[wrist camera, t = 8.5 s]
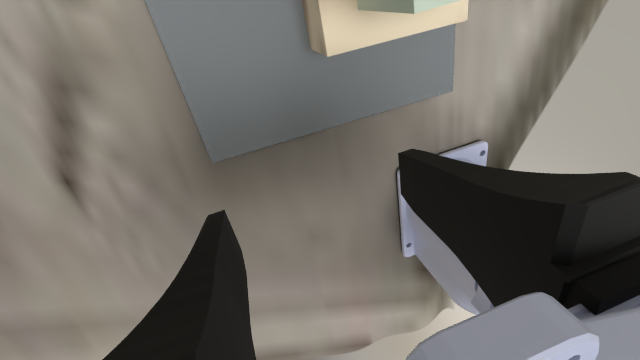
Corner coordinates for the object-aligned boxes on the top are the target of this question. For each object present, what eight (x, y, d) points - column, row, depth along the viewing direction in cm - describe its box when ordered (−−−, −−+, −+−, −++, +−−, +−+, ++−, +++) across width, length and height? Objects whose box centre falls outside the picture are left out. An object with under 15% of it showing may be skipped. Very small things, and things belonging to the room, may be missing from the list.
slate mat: (447, 89, 23) (452, 90, 23) (211, 159, 21) (212, 163, 20) (454, -191, 16) (462, -197, 15) (89, -140, 13) (84, -145, 13)
